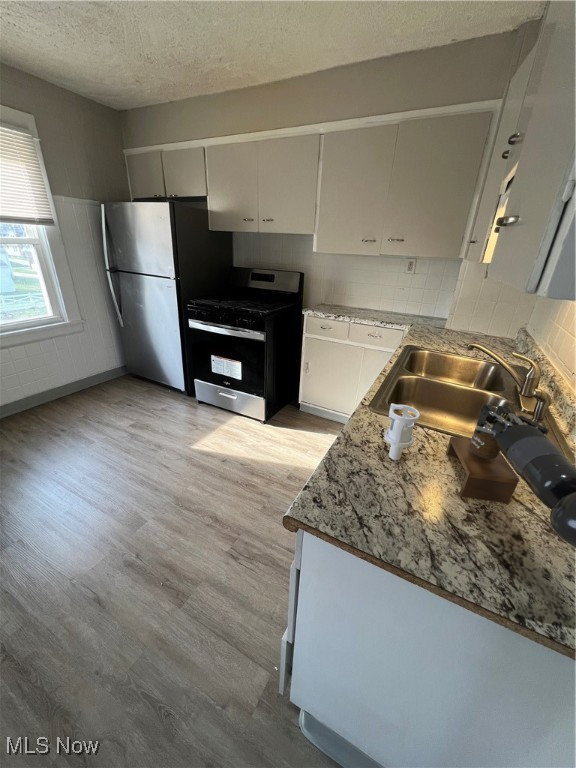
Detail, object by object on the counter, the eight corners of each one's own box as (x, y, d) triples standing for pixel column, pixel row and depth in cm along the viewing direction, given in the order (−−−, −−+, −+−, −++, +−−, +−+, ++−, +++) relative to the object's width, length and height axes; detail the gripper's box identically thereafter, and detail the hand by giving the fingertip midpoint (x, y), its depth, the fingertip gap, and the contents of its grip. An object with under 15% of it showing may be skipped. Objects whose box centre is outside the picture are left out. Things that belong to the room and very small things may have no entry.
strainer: (384, 445, 88) (393, 398, 81) (410, 453, 85) (422, 405, 78) (378, 459, 82) (388, 409, 76) (406, 468, 79) (418, 417, 73)
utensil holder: (491, 446, 75) (507, 401, 70) (502, 462, 70) (521, 415, 65) (465, 442, 76) (479, 399, 71) (474, 458, 70) (490, 412, 65)
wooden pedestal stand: (484, 463, 82) (492, 441, 79) (508, 503, 70) (519, 479, 67) (443, 458, 83) (450, 436, 80) (460, 497, 71) (469, 472, 68)
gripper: (584, 442, 53) (530, 397, 69) (496, 432, 55) (463, 390, 71) (566, 477, 56) (518, 426, 72) (483, 466, 58) (454, 419, 74)
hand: (491, 408), depth 71 cm, fingers closed on utensil holder, 2 cm apart
